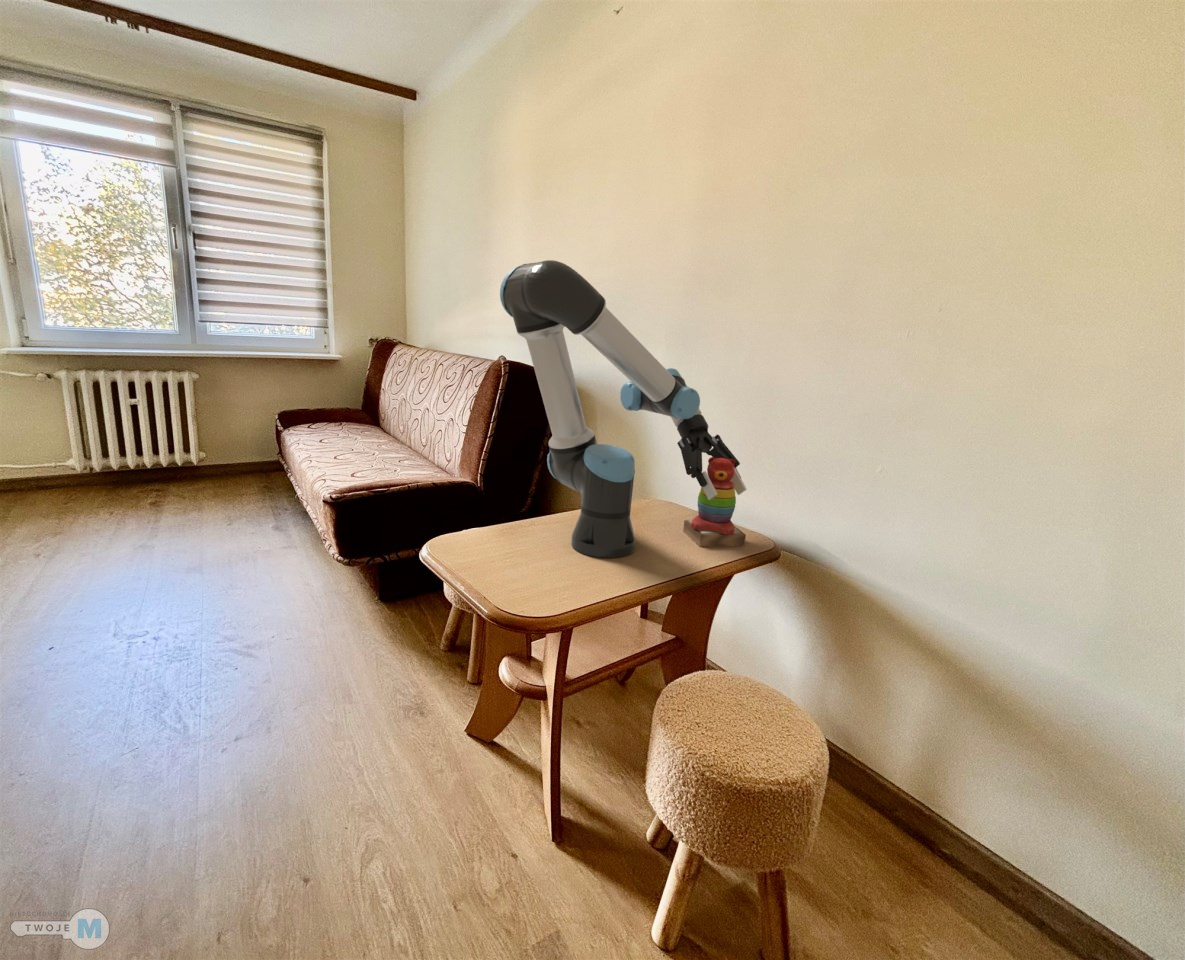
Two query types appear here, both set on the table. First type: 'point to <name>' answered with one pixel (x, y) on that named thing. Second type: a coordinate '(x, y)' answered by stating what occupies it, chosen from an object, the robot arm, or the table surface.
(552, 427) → the robot arm
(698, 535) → the grey flat block
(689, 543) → the table surface
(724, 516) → the stacking bear
